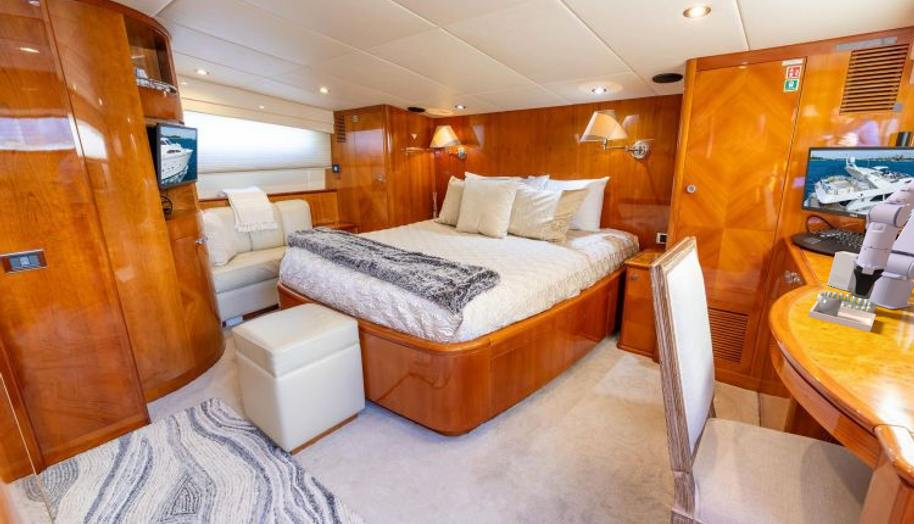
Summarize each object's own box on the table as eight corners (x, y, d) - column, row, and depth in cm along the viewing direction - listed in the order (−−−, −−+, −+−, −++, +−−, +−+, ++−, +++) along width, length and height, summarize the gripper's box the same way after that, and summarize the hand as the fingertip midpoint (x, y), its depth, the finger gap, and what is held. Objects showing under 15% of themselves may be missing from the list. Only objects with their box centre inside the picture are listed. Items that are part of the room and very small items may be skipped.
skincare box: (855, 290, 128) (867, 255, 125) (846, 291, 127) (858, 256, 123) (834, 284, 134) (844, 250, 130) (825, 285, 132) (835, 251, 129)
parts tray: (814, 307, 113) (816, 300, 113) (873, 321, 105) (875, 314, 104) (807, 318, 106) (809, 311, 106) (869, 334, 98) (872, 326, 97)
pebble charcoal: (856, 293, 113) (860, 278, 112) (873, 298, 110) (878, 283, 108) (846, 294, 112) (851, 280, 111) (864, 299, 109) (869, 284, 107)
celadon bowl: (819, 296, 122) (821, 288, 122) (875, 308, 113) (878, 300, 113) (812, 306, 115) (814, 297, 114) (872, 319, 106) (875, 311, 105)
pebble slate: (823, 311, 110) (828, 296, 108) (840, 316, 106) (845, 301, 105) (813, 312, 109) (818, 297, 107) (830, 318, 105) (835, 303, 104)
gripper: (859, 240, 114) (845, 283, 118) (853, 248, 105) (838, 294, 109) (894, 245, 109) (878, 290, 113) (891, 253, 100) (874, 302, 104)
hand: (861, 293), depth 111 cm, fingers closed on pebble charcoal, 4 cm apart
